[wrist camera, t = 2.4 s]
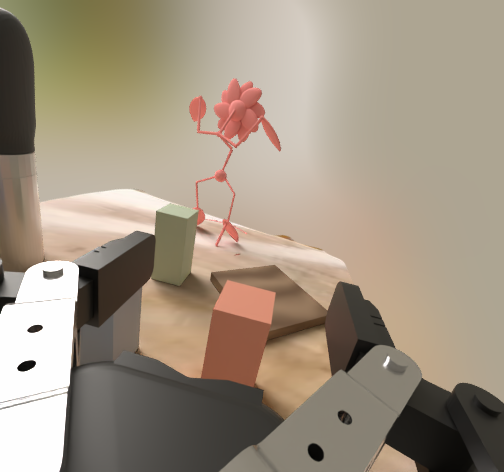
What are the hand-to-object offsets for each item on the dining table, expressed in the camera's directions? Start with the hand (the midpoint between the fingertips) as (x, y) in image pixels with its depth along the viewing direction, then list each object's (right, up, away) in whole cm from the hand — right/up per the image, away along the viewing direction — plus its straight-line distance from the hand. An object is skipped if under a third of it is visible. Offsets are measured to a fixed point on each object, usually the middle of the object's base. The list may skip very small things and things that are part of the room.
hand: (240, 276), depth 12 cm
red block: (-2, -15, +18) cm, 24 cm away
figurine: (-8, +2, +59) cm, 59 cm away
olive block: (-13, -5, +37) cm, 39 cm away
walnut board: (+3, -9, +35) cm, 37 cm away
